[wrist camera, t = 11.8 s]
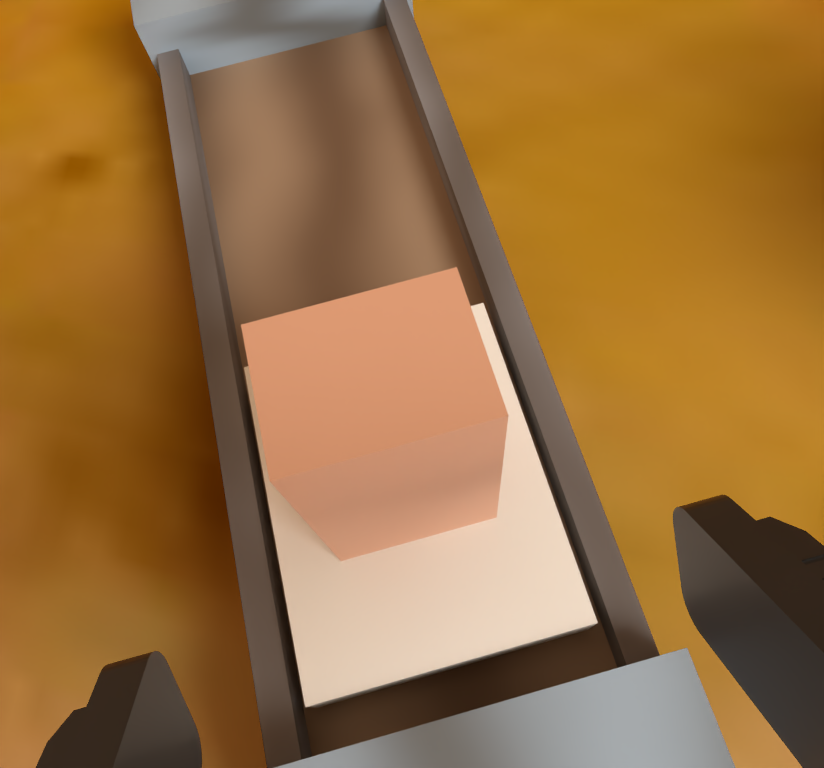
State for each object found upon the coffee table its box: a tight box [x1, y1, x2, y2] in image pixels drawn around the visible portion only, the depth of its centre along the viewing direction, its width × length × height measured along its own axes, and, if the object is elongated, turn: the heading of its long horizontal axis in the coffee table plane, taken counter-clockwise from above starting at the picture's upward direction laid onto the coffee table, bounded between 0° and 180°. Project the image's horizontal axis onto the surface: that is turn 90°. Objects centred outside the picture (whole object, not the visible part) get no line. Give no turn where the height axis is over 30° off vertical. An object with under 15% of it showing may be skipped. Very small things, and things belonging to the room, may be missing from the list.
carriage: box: [241, 267, 598, 707], centre depth 16 cm, size 7×9×8 cm
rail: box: [130, 0, 735, 768], centre depth 22 cm, size 10×30×4 cm, turn 15°
